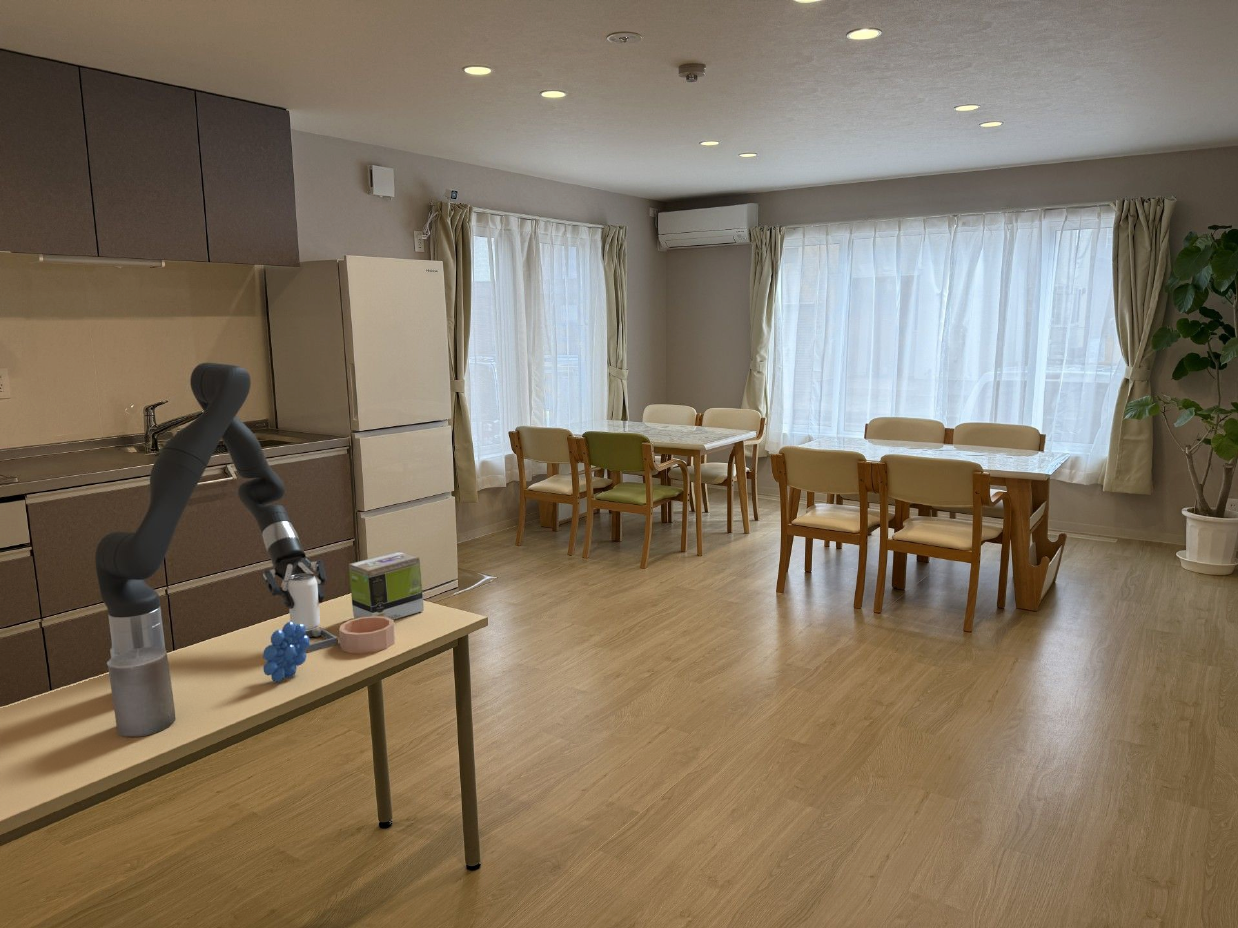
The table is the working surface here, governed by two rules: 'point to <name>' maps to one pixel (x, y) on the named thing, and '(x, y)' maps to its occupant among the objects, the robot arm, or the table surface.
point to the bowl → (367, 634)
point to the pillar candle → (141, 691)
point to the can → (304, 600)
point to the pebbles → (316, 632)
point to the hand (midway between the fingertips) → (306, 603)
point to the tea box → (386, 586)
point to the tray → (322, 644)
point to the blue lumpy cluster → (286, 651)
